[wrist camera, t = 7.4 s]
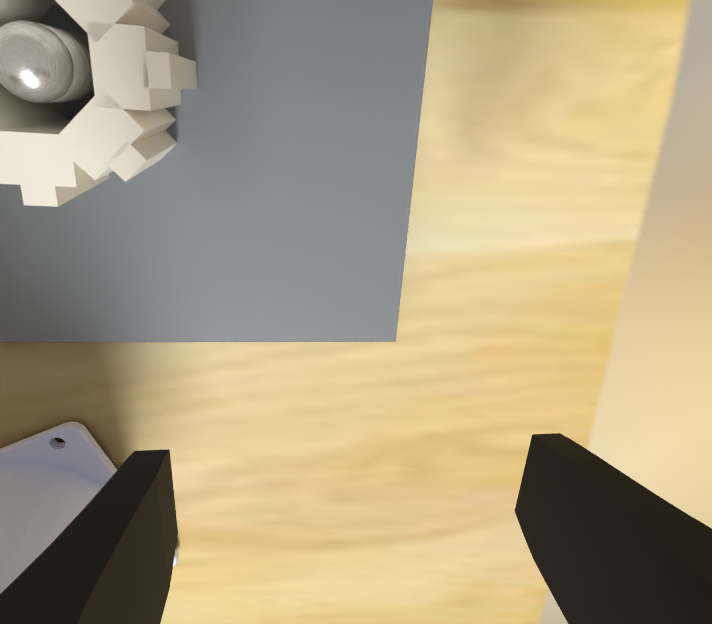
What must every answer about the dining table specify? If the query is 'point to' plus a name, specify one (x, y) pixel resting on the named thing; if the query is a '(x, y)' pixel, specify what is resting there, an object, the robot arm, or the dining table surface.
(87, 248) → the gear board
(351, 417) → the dining table surface
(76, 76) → the steel peg
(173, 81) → the gear
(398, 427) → the dining table surface
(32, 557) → the robot arm
